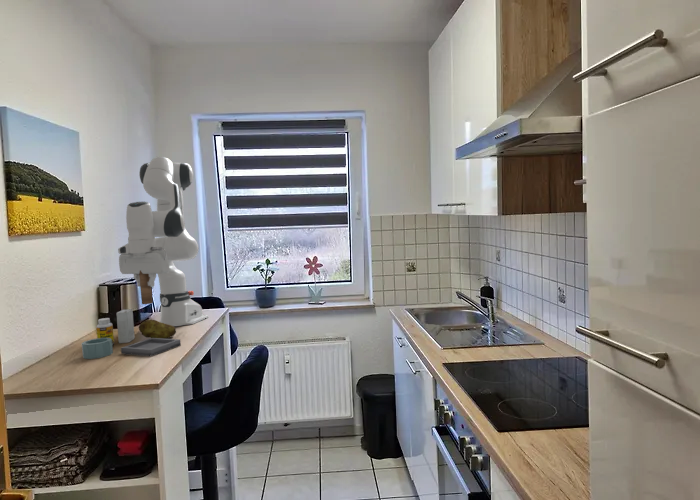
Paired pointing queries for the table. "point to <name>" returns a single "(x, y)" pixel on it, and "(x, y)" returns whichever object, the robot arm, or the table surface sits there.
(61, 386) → the table surface
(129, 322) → the skincare box
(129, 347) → the tray
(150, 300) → the dowel
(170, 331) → the potato
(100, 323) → the supplement bottle
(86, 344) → the tube
